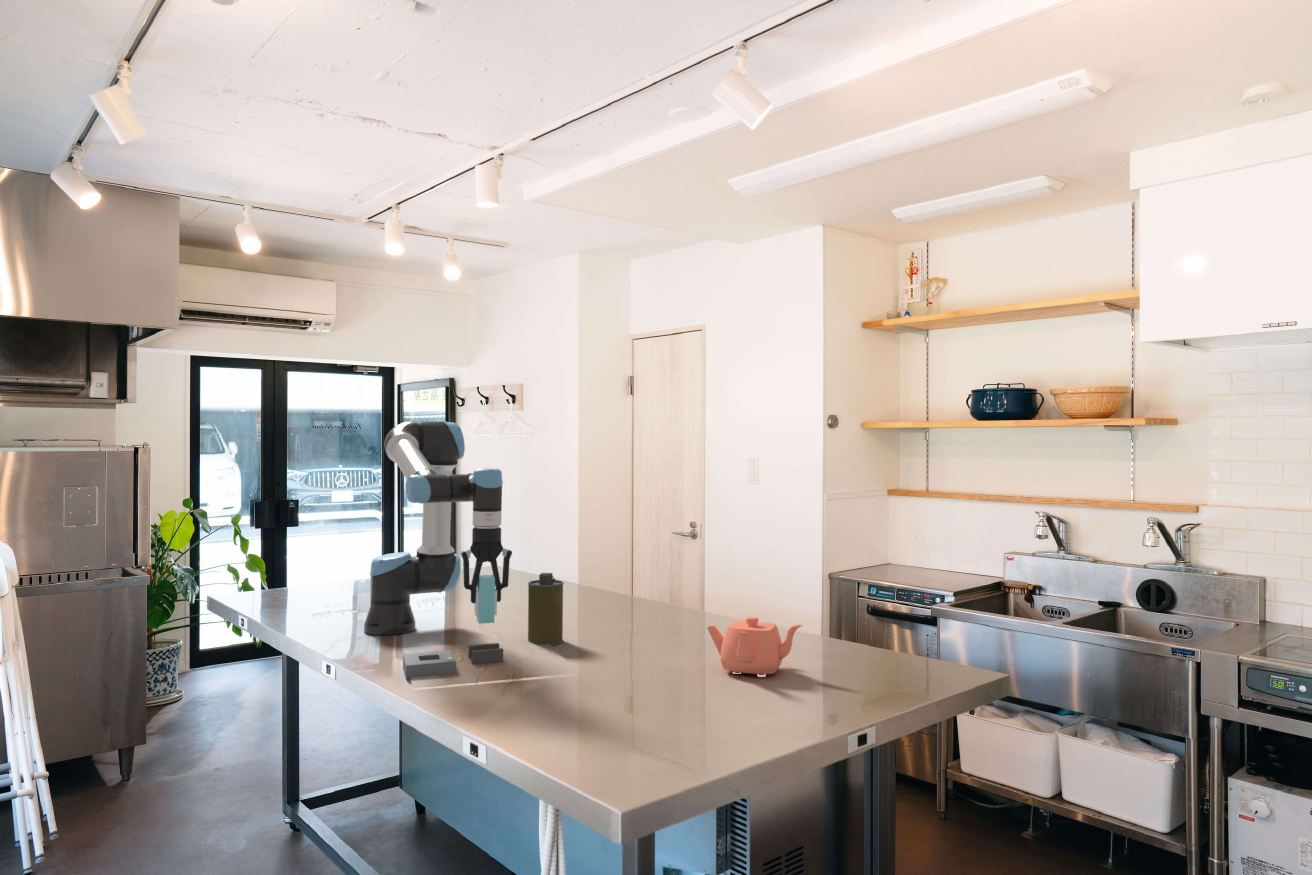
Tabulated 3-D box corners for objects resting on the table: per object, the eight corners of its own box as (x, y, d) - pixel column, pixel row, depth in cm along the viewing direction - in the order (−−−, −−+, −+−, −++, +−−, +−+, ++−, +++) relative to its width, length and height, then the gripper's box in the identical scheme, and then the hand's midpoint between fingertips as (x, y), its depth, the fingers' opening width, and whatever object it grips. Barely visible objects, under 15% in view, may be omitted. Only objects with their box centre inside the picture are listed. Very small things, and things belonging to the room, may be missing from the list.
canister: (556, 646, 238) (557, 576, 238) (521, 644, 240) (522, 575, 240) (568, 638, 249) (568, 571, 249) (534, 636, 251) (535, 569, 251)
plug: (476, 620, 223) (477, 575, 223) (491, 619, 225) (492, 574, 225) (479, 623, 219) (479, 577, 219) (494, 622, 221) (495, 577, 221)
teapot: (803, 676, 210) (803, 621, 210) (740, 685, 202) (741, 627, 202) (762, 659, 226) (763, 608, 226) (703, 667, 218) (703, 613, 218)
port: (402, 667, 215) (403, 651, 215) (450, 663, 219) (450, 647, 219) (406, 679, 204) (406, 662, 204) (456, 675, 208) (456, 658, 208)
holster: (468, 659, 224) (468, 645, 224) (498, 656, 226) (498, 642, 226) (472, 666, 217) (472, 651, 217) (503, 663, 220) (503, 649, 220)
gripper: (455, 529, 215) (454, 619, 216) (521, 527, 221) (520, 615, 222) (452, 525, 222) (451, 613, 223) (516, 524, 228) (514, 609, 229)
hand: (485, 614), depth 222 cm, fingers closed on plug, 4 cm apart
